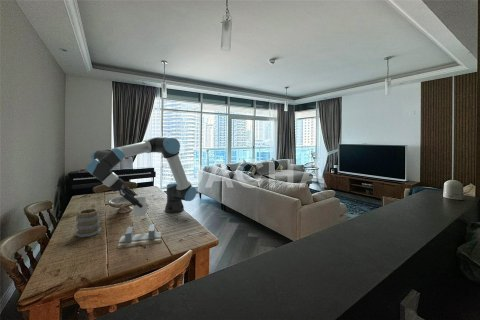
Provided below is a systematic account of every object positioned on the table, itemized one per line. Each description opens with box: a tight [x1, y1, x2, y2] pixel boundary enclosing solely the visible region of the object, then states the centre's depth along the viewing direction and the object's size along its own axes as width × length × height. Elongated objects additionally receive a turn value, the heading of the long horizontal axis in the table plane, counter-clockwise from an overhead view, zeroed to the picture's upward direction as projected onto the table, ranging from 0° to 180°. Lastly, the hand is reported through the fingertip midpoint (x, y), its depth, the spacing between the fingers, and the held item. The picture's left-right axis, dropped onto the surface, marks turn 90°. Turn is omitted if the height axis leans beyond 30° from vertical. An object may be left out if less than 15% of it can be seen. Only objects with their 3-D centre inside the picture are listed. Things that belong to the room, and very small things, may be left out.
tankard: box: [75, 203, 103, 238], centre depth 141 cm, size 20×13×15 cm, turn 17°
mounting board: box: [117, 231, 162, 249], centre depth 129 cm, size 22×12×2 cm, turn 109°
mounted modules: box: [124, 223, 156, 243], centre depth 129 cm, size 15×10×5 cm, turn 109°
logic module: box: [133, 194, 147, 218], centre depth 127 cm, size 6×5×11 cm
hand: (146, 208), depth 129 cm, fingers closed on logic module, 5 cm apart
